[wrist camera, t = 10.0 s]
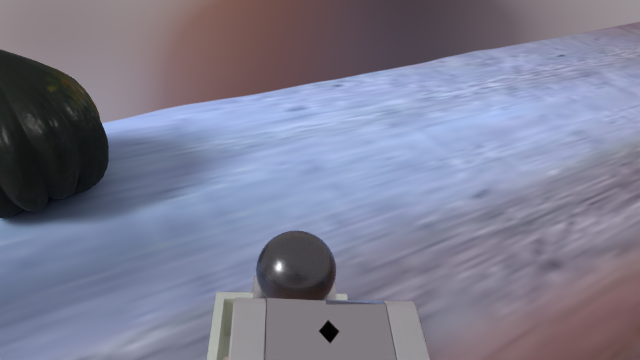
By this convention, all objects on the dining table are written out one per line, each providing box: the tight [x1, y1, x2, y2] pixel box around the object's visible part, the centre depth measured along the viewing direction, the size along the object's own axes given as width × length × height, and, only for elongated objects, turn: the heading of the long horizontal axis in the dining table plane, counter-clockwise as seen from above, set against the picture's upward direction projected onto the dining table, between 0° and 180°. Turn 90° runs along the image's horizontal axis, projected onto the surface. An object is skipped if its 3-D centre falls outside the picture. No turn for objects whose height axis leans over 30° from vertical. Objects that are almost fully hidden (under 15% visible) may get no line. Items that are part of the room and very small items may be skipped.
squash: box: [0, 50, 109, 218], centre depth 51 cm, size 14×15×15 cm
